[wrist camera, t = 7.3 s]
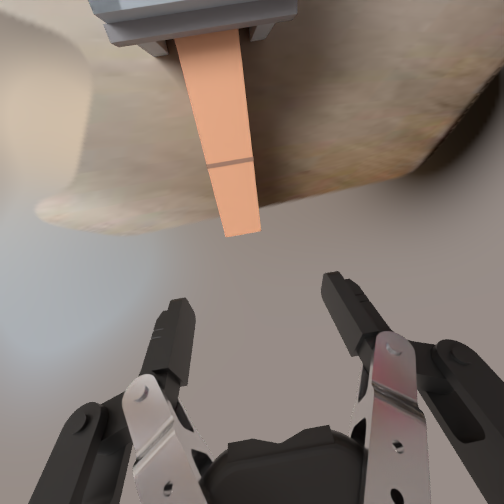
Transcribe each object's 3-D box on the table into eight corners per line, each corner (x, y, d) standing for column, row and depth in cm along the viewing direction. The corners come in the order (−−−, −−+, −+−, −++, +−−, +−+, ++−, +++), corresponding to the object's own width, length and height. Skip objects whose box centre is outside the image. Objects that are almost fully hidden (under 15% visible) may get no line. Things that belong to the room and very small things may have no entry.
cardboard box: (229, 22, 14) (233, -19, 10) (253, 205, 24) (261, 231, 19) (181, 30, 14) (160, -8, 9) (224, 210, 24) (225, 237, 19)
